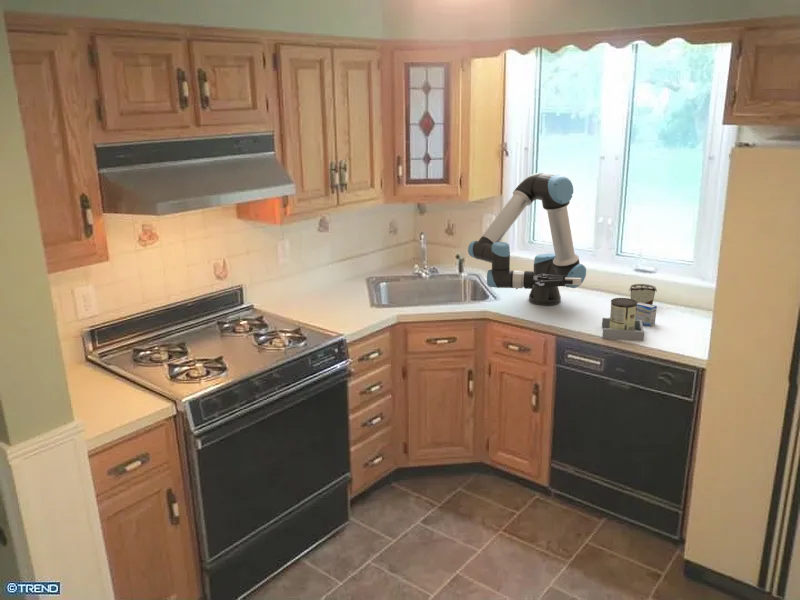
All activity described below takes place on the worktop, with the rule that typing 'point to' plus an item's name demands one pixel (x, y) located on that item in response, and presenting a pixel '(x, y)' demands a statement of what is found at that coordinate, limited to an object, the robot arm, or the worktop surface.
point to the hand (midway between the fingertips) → (581, 281)
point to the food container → (643, 293)
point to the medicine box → (646, 313)
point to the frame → (623, 331)
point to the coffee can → (623, 314)
